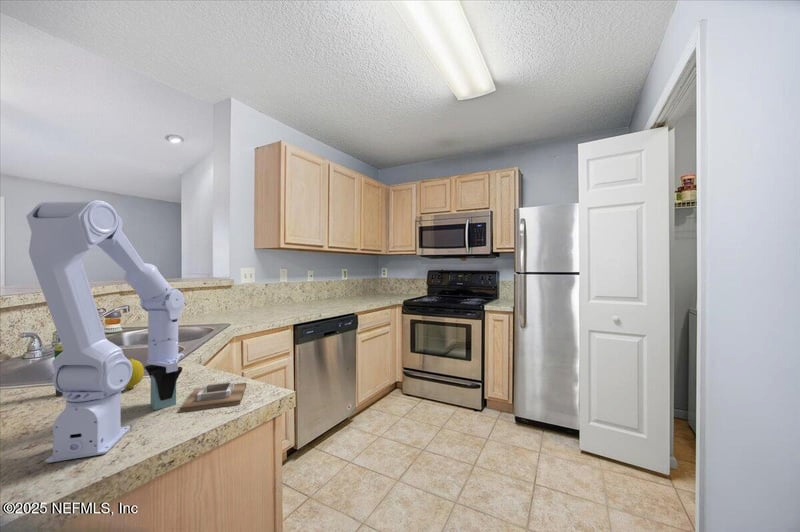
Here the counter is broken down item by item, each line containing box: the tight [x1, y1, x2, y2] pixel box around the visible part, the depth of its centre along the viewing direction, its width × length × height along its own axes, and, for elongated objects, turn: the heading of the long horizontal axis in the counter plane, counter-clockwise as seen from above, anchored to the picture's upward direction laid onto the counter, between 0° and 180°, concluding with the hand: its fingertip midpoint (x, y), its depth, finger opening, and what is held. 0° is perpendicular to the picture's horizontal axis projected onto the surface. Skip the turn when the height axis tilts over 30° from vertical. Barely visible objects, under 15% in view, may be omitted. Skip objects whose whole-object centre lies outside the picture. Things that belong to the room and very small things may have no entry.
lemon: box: [124, 358, 145, 390], centre depth 84 cm, size 6×6×8 cm
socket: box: [179, 381, 247, 413], centre depth 78 cm, size 12×12×2 cm
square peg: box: [150, 375, 177, 411], centre depth 74 cm, size 4×4×7 cm
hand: (163, 396), depth 74 cm, fingers closed on square peg, 4 cm apart
